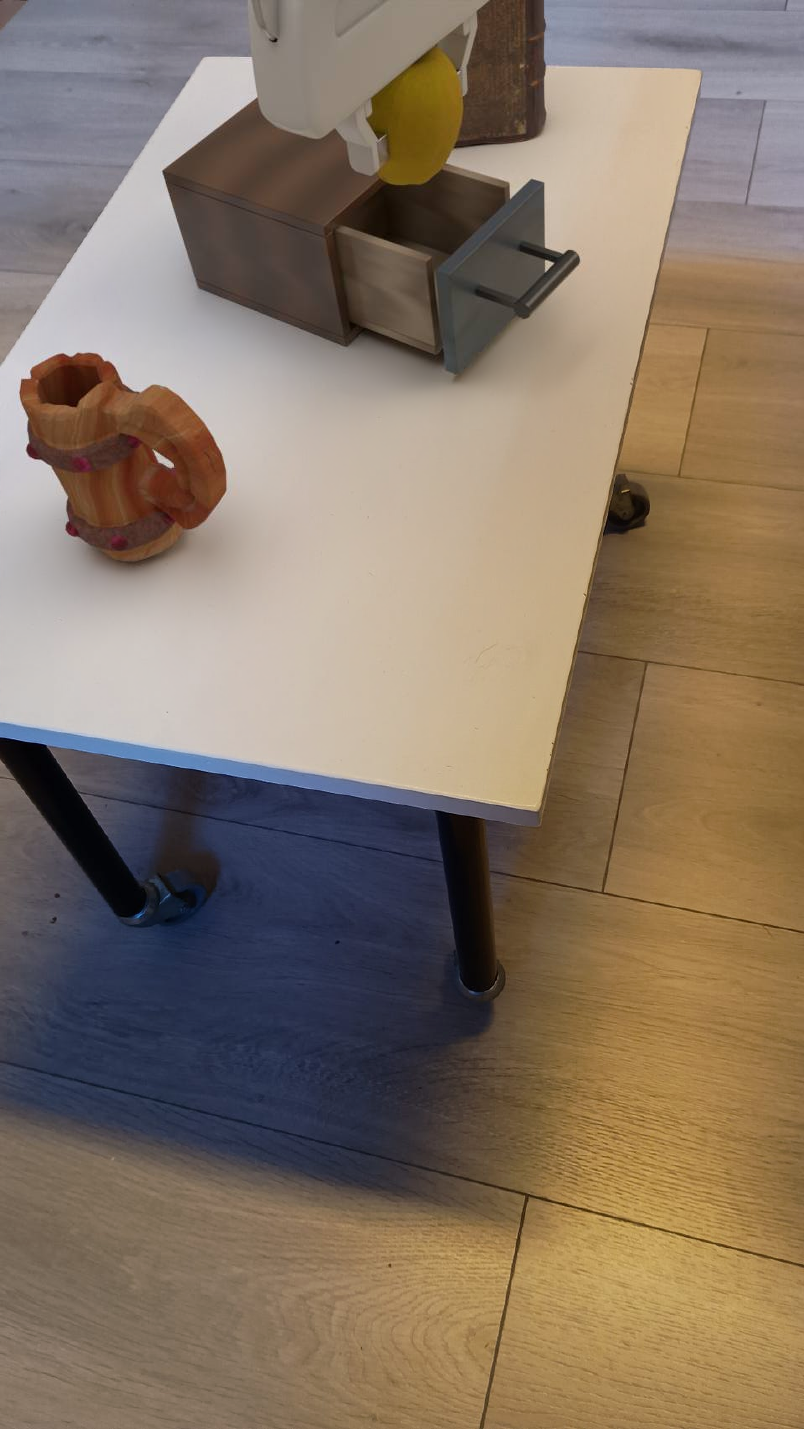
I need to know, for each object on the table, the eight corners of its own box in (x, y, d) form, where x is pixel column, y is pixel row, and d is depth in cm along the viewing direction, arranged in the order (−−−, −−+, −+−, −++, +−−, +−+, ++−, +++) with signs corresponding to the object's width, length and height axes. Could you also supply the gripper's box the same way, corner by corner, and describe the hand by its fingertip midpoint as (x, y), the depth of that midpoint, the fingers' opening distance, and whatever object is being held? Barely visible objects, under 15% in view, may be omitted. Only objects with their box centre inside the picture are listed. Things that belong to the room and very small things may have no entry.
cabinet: (443, 254, 96) (431, 131, 87) (346, 346, 91) (323, 226, 82) (295, 204, 103) (271, 85, 94) (197, 287, 98) (161, 170, 89)
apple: (385, 221, 65) (367, 80, 58) (346, 168, 68) (325, 30, 61) (485, 186, 65) (478, 44, 59) (442, 136, 69) (431, -4, 62)
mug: (55, 554, 82) (-34, 393, 69) (119, 479, 85) (45, 314, 73) (219, 614, 77) (154, 453, 64) (279, 532, 80) (229, 364, 68)
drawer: (597, 302, 89) (601, 198, 82) (510, 396, 84) (506, 295, 77) (394, 233, 97) (380, 133, 90) (304, 315, 92) (282, 217, 85)
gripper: (297, -47, 48) (345, 244, 59) (550, -226, 56) (549, 60, 67) (190, -71, 50) (256, 213, 62) (447, -239, 58) (463, 39, 70)
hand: (411, 132), depth 64 cm, fingers closed on apple, 6 cm apart
